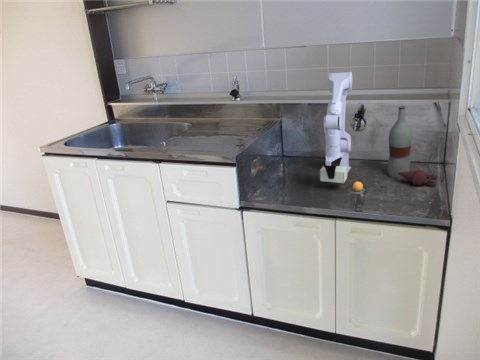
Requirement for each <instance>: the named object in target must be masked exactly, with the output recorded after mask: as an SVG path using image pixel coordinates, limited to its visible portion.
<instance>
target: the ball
mask: <svg viewBox="0 0 480 360" xmlns="http://www.w3.org/2000/svg"><path fill="white" fill-rule="evenodd" d="M352 187H353V189H354V190H355V191H361V190H362V189H363V188H364V184H363V183H362V182H361V181H355V182H353V184H352Z"/></svg>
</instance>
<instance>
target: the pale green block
mask: <svg viewBox="0 0 480 360" xmlns="http://www.w3.org/2000/svg"><path fill="white" fill-rule="evenodd" d="M347 179H348V173H347V167H343V166H337V167H336V170H335V176H334V179H329V178H328V175H327V172H326V169H325V167H324V166H323V165H322V167H321V168H320V170H319V180H320V182H327V183H339V184H345V182H346V180H347Z"/></svg>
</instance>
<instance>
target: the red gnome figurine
mask: <svg viewBox="0 0 480 360" xmlns="http://www.w3.org/2000/svg"><path fill="white" fill-rule="evenodd" d="M398 174H399V175H400V176H402V177H404V178H403V179H405V180H407V181H409V182H411V183H412V185H413V186H423V185H427V186H429V187H432V186H435V187H437V183H436V182H434V181H435V180H437V179H438V176H437V174H433V173H430V174H427V172H426V171H424V170H423V169H419V168H417V169H416V170H412V171H409V172H400V173H398Z"/></svg>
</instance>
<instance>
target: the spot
mask: <svg viewBox="0 0 480 360" xmlns="http://www.w3.org/2000/svg"><path fill="white" fill-rule="evenodd" d="M346 191H347V193H348V194H351V195H361V194H364V193H365V192H366V189H365V187H363V189H362V190H361V191H355V190H354V189H353V186H351V187H348V188H347V190H346Z"/></svg>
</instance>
